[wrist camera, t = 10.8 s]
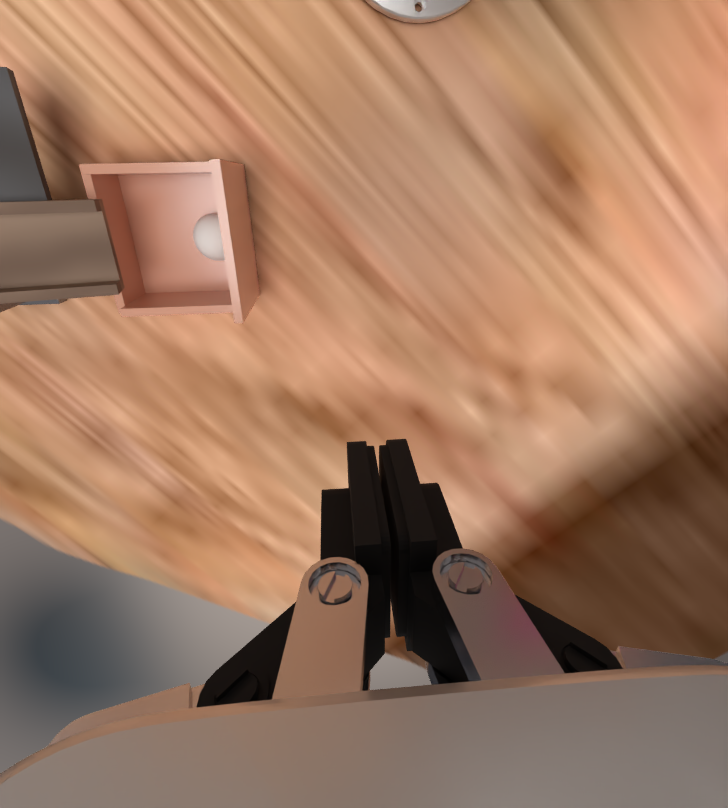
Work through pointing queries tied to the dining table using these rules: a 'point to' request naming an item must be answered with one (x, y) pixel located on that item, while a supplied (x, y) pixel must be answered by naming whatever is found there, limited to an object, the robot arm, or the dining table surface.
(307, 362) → the dining table surface
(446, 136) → the dining table surface
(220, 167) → the cup
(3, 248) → the lever
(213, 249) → the ball
